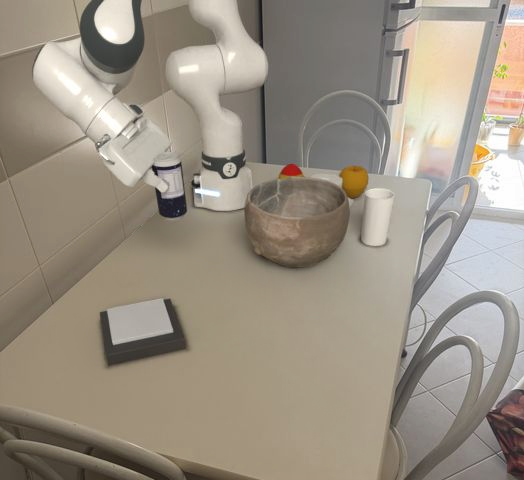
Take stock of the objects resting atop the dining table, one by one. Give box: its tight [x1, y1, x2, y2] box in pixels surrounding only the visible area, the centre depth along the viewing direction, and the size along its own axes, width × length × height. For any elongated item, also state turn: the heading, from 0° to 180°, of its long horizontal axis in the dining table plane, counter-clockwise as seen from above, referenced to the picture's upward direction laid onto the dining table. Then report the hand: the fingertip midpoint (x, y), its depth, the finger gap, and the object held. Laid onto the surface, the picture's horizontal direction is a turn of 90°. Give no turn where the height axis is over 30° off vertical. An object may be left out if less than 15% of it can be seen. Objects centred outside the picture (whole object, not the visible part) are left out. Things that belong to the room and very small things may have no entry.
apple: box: [338, 165, 370, 199], centre depth 140 cm, size 9×8×9 cm
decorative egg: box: [277, 163, 305, 179], centre depth 139 cm, size 8×8×10 cm
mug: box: [360, 187, 396, 247], centre depth 119 cm, size 10×7×12 cm, turn 157°
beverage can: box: [151, 151, 188, 221], centre depth 96 cm, size 6×6×12 cm
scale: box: [99, 297, 187, 367], centre depth 93 cm, size 14×14×3 cm
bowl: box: [243, 176, 351, 268], centre depth 112 cm, size 24×24×15 cm
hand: (172, 182), depth 96 cm, fingers closed on beverage can, 5 cm apart
